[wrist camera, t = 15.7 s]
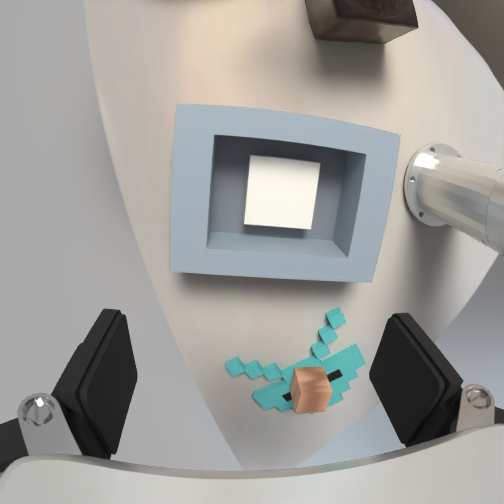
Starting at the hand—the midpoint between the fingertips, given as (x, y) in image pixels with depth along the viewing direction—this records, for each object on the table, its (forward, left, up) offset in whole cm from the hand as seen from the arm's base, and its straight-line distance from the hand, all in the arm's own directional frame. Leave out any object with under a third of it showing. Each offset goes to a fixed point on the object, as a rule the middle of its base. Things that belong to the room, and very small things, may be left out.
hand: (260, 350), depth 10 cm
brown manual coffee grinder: (-9, -27, -30) cm, 41 cm away
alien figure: (-14, +30, -31) cm, 45 cm away
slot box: (-5, -1, -30) cm, 30 cm away
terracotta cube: (-14, +29, -28) cm, 43 cm away
